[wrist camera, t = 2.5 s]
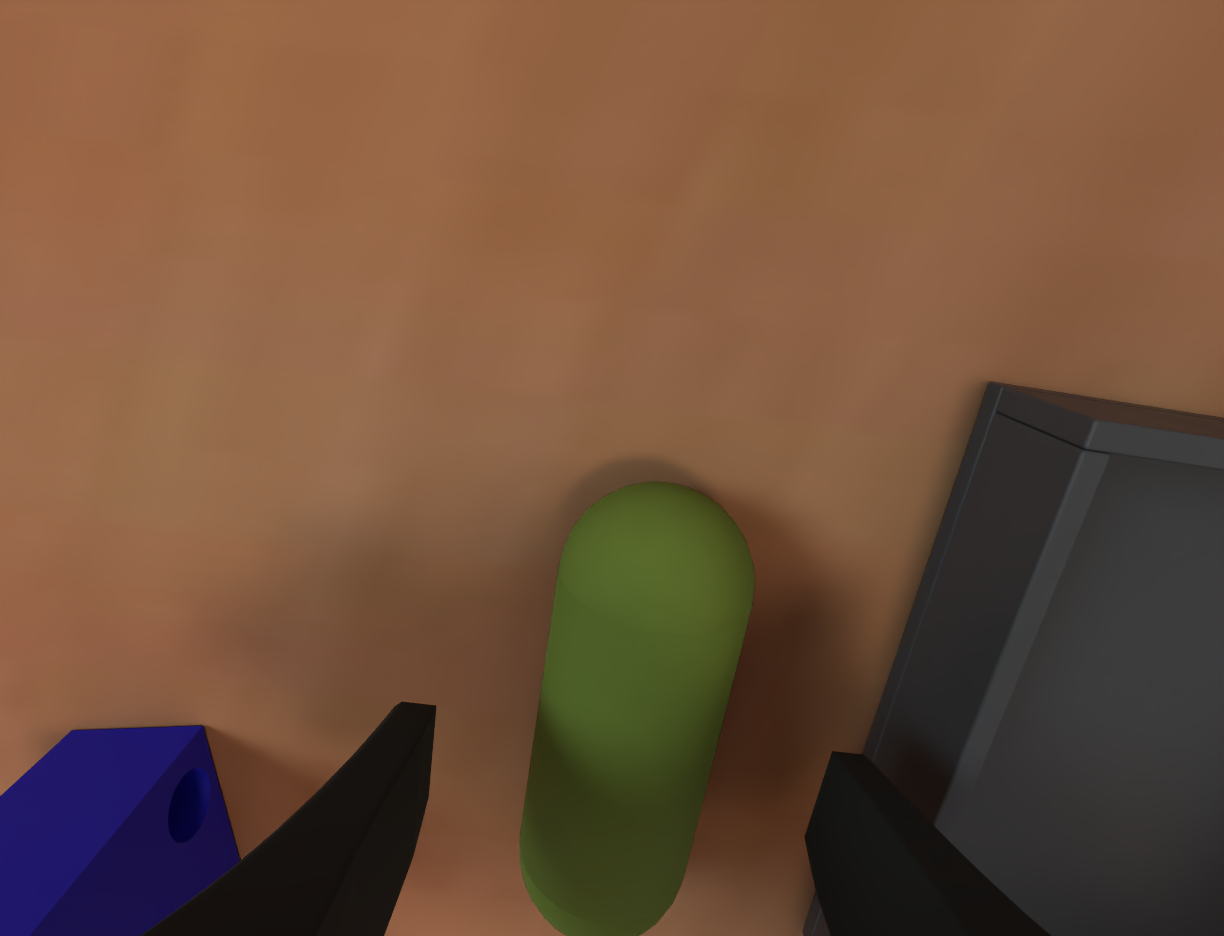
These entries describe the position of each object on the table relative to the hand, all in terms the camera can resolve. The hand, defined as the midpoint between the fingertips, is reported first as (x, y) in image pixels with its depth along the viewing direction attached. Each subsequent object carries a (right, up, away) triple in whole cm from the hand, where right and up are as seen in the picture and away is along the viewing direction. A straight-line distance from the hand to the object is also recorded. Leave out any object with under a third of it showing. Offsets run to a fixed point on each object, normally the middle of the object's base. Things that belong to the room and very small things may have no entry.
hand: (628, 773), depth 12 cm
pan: (+12, -1, +4) cm, 12 cm away
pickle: (0, +1, +3) cm, 3 cm away
